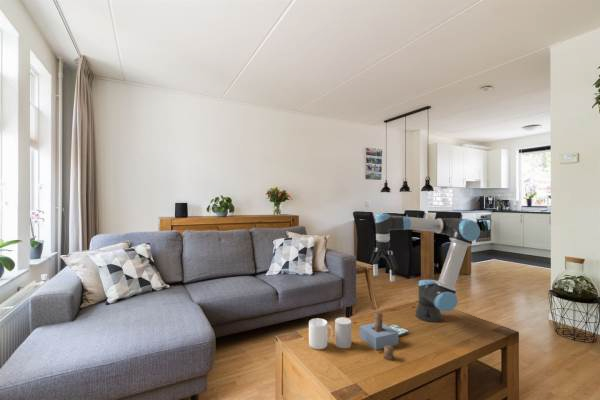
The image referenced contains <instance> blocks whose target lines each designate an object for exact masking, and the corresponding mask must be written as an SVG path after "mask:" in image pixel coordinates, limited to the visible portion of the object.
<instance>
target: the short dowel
mask: <svg viewBox="0 0 600 400" xmlns="http://www.w3.org/2000/svg"><path fill="white" fill-rule="evenodd" d="M383 351H384V352H383V358H384V359H385V360H387V361H393V360H394V347H393V346H390V345H385V346H384V348H383Z"/></svg>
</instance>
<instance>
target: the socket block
mask: <svg viewBox="0 0 600 400" xmlns="http://www.w3.org/2000/svg"><path fill="white" fill-rule="evenodd" d="M399 335H400V334H399V332H398V331H396V330H395V329H394V328H392V327H390V326H389V325H387V324H386V323H384V322H382V331H381V332H376V331H375V322H372V323H367V324H362V325H359V338H360V339H361V340H363V341H364V342H365V343H366V344H368V345H369V346H370V347H372V348H373V349H374V350H376V351H377V350H382V349H384V346H385V345H390V346H392V347H393V346H394V347H395V346H397V345H399V340H400V339H399Z"/></svg>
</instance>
